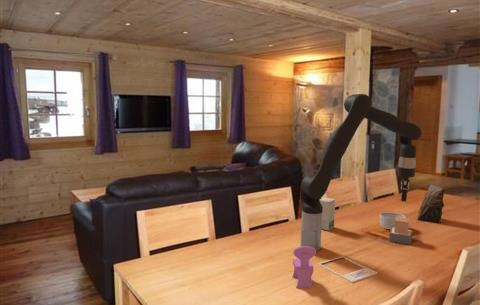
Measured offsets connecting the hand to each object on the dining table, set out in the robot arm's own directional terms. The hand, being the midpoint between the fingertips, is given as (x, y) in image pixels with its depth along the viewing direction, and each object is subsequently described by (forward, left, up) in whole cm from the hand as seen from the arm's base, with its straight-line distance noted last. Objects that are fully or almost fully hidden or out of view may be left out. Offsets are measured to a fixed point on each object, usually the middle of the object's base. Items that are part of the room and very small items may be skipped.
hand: (403, 199), depth 178 cm
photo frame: (-46, +18, -21) cm, 54 cm away
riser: (0, 0, -21) cm, 21 cm away
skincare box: (0, +37, -21) cm, 42 cm away
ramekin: (+17, +5, -21) cm, 27 cm away
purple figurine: (-65, +31, -21) cm, 75 cm away
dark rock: (+43, -13, -21) cm, 49 cm away
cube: (0, 0, -16) cm, 16 cm away
